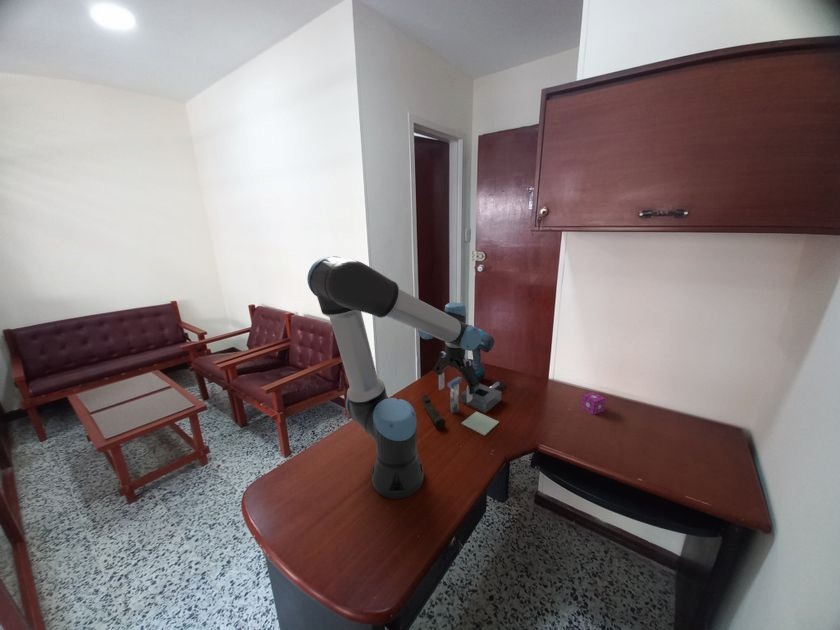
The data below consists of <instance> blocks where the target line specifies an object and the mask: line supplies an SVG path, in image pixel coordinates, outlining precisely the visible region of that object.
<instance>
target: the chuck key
mask: <svg viewBox="0 0 840 630" xmlns="http://www.w3.org/2000/svg"><path fill="white" fill-rule="evenodd" d="M462 381H463V378H462V376H461V377H460V376H457V377H455V378H453V379H452V380H450V381H449V382H447V388H449V389H450V405H449V406H450V412H451V413H452V414H457V413H459V410H460V409H459V404H460V403H459V401H460V400H459V399H460V395H459V394H460V383H461V382H462Z"/></svg>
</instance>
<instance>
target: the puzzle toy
mask: <svg viewBox="0 0 840 630" xmlns="http://www.w3.org/2000/svg"><path fill="white" fill-rule="evenodd" d="M606 399H607V398H605V397H604V396H601V395H600V394H598V393H596V392H594V391H592V392H588V393H585V394H582V397H581V403H580V408H581V409H583V410H584V411H586V412H588V413H590V414H591V415H592V416H594V415H597V414H600V413H603V412H604V411H605V407H606V406H605V404H606Z"/></svg>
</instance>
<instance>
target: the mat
mask: <svg viewBox="0 0 840 630" xmlns="http://www.w3.org/2000/svg"><path fill="white" fill-rule="evenodd" d="M499 423H500V421H499V420H496V419H494V418H492V417H490V416H487V415H485V414H483V413H481V412H478V411H475V412H474V413H473V414H471V415H470V416H469V417H466V419H465V420H464V421H462V422H461V423H460V424H461V425H462V426H464V427H465V428H466V427H467V428H468V429H470V430H473V431H474V432H476V433H478V434H480V435H482V436H486V435H488V433H490V432H491V430H493V429H494V428H495V427H496V426H497V425H498V424H499Z"/></svg>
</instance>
